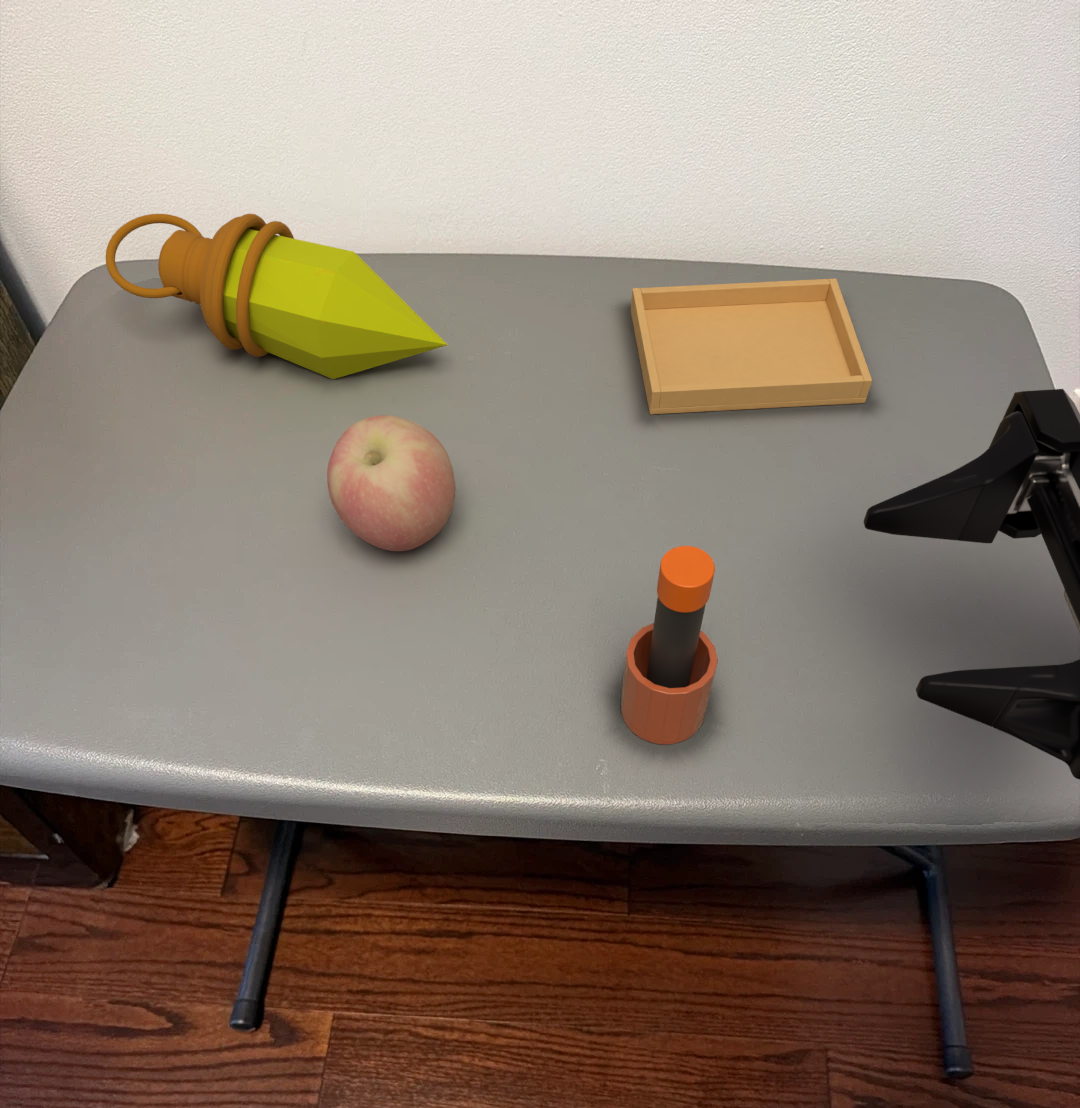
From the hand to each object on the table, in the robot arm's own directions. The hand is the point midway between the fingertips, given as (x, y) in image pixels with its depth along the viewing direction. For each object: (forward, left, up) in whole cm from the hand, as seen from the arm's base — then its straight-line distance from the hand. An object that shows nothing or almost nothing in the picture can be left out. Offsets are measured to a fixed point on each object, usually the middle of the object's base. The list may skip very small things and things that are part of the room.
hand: (891, 598), depth 46 cm
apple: (+23, -20, -16) cm, 34 cm away
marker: (+8, -5, -15) cm, 18 cm away
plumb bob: (+31, -38, -16) cm, 52 cm away
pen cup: (+8, -5, -16) cm, 18 cm away
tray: (-2, -35, -16) cm, 38 cm away
